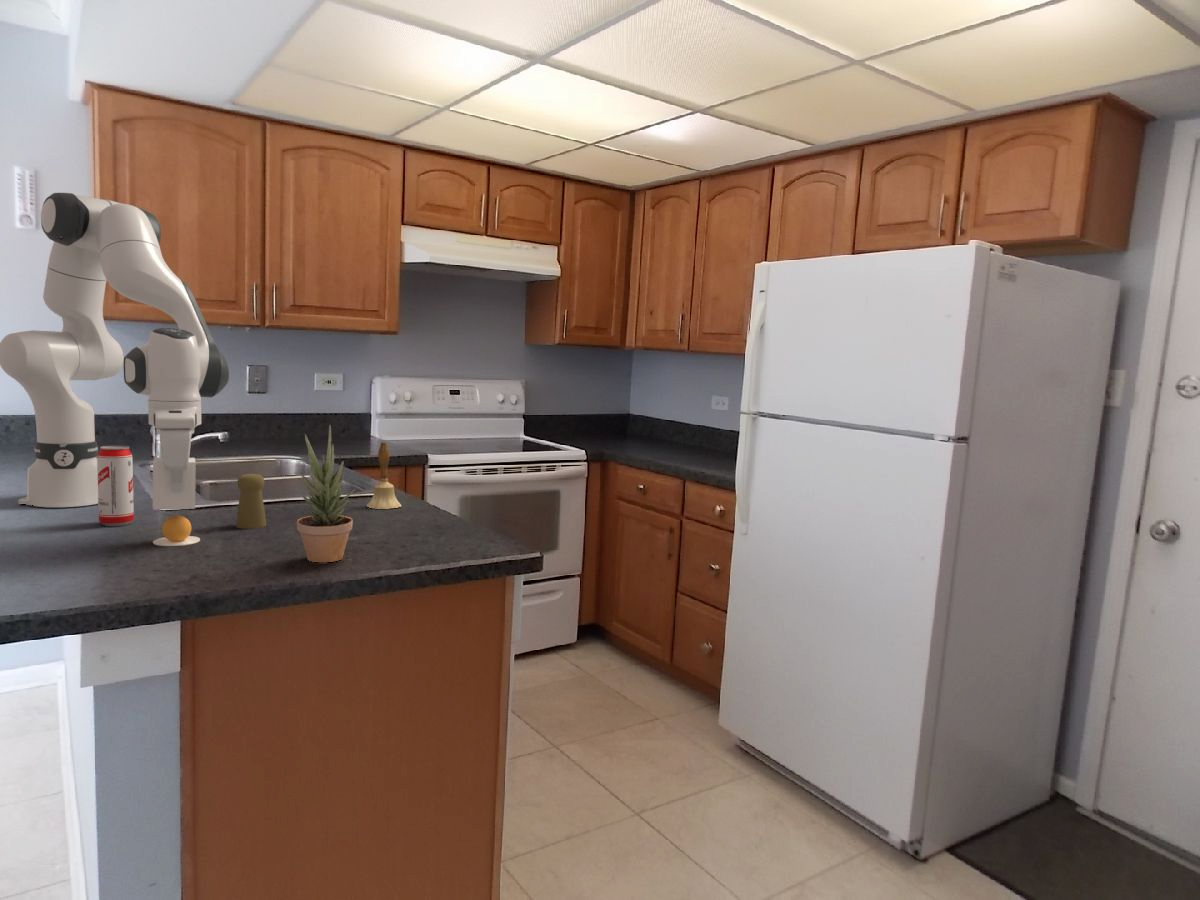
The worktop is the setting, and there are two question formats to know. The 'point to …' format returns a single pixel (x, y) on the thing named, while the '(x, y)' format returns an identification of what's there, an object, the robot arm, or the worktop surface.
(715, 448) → the worktop surface
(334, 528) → the potted plant
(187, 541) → the cream domed disc
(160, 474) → the cream cube
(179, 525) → the ball
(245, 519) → the cork
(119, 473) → the beer can
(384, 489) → the hand bell
